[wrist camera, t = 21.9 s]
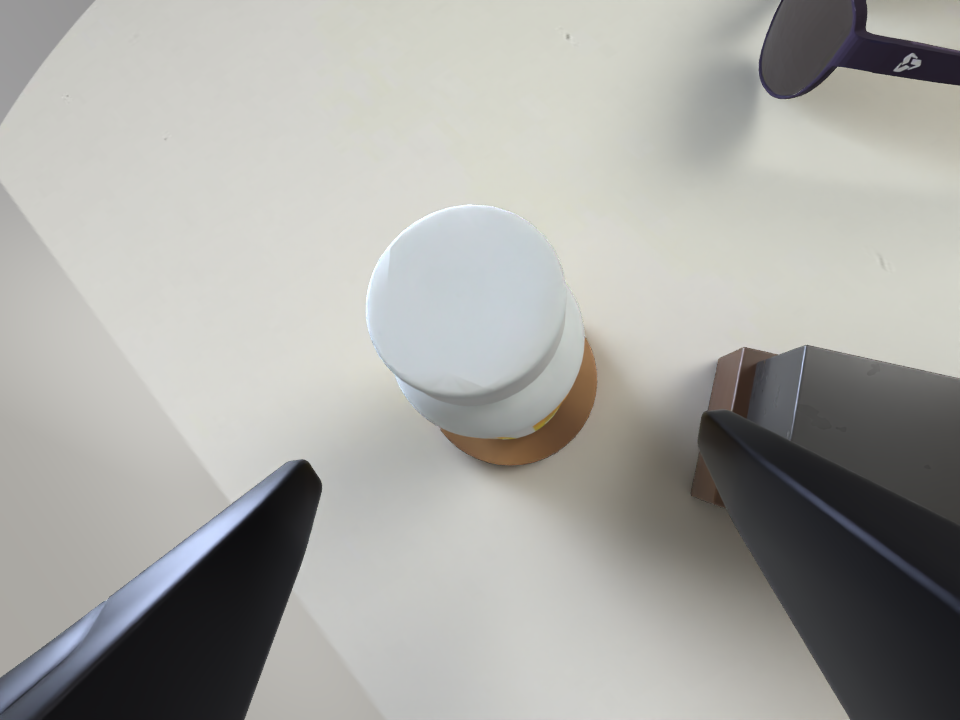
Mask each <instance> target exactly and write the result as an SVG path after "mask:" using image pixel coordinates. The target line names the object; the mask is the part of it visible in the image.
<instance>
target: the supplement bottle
mask: <svg viewBox="0 0 960 720" xmlns="http://www.w3.org/2000/svg"><path fill="white" fill-rule="evenodd" d="M366 319H367V326H368V330H369V334H370V337H371V340H372V343H373V345H374V347H375V349H376V351H377V353H378V355H379V357H380V358H381V359H382V361H383V362H384V363H385V365H386V366H387V367H388V368H389V369H390V370H391V371H392V372H393V373H394V374H395V377H396V380H397V382H398V384H399V386H400V388H401V390H402V392H403V393H404V395H405V396H406V398H407V399H408V401H409V402H410V403H411V405H412V406H413V407H414V408H415V409H416V410H417V411H418V412H419V413H420V414H421V415H422V416H423V417H425V418H426V419H427V420H429V421H430V422H432V423H433V424H435V425H437V426H438V427H440V428H442V429H445V430H447V431H449V432H452V433H455V434H458V435H462V436H467V437H472V438H483V439H517V438H520V437H523V436H527V435H529V434H532V433H534V432H535V431H537V430H539V429H540V428H541V427H543V426H544V425H545V424H546V423H548V422H549V420H550V419H551V418H552V417H553V416H554V415H555V413H556V412H557V410H558V409H559V407H560V405H561V404H562V402H563V401H564V400H565V399H566V397H567V395H568V393H569V392H570V390H571V388H572V386H573V384H574V382H575V380H576V377H577V375H578V373H579V370H580V366H581V363H582V359H583V353H584V342H585V334H584V324H583V319H582V314H581V311H580V308H579V305H578V303H577V301H576V298H575V296H574V294H573V293H572V291H571V289H570V288H569V286H568V285H567V283H566V282H565V278H564V272H563V269H562V266H561V263H560V260H559V258H558V256H557V253H556V252H555V250H554V248H553V247H552V245H551V244H550V243H549V241H548V240H547V238H546V237H545V236H544V235H543V234H542V233H541V232H540V231H539V230H538V229H537V228H536V227H535V226H533V225H532V224H531V223H530V222H528V221H527V220H525V219H524V218H522V217H521V216H519V215H517V214H515V213H513V212H510V211H507V210H504V209H501V208H497V207H492V206H484V205H463V206H455V207H450V208H446V209H443V210H440V211H437V212H434V213H432V214H430V215H427V216H425V217H424V218H422V219H420V220H418V221H417V222H415V223H414V224H412V225H411V226H409V227H408V228H406V229H405V230H404V231H403V232H402V233H401V234H400V235H399V236H398V237H397V238H396V239H395V240H394V241H393V242H392V243H391V244H390V246H389V247H388V248H387V250H386V251H385V252H384V254H383V255H382V256H381V258H380V259H379V261H378V263H377V265H376V267H375V269H374V271H373V274H372V277H371V280H370V283H369V287H368V292H367V300H366Z"/></svg>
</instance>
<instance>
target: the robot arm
mask: <svg viewBox="0 0 960 720" xmlns="http://www.w3.org/2000/svg"><path fill="white" fill-rule="evenodd" d="M698 447H699V450H700V453H701V455H702V457H703V459H704V462H705V464H706V466H707V468H708V470H709V472H710V475H711V477H712V479H713V481H714V483H715V485H716V488H717V490H718V492H719V494H720V496H721V498H722V500H723V503H724V505H725V507H726V509H727V511H728V513H729V515H730V517H731V519H732V521H733V523H734V525H735V527H736V529H737V530H738V532H739V534H740V536H741V537H742V539H743V541H744V542H745V544H746V546H747V547H748V549H749V551H750V552H751V554H752V556H753V557H754V559H755V561H756V562H757V564H758V566H759V567H760V569H761V571H762V572H763V574H764V576H765V577H766V579H767V581H768V582H769V584H770V586H771V587H772V589H773V591H774V593H775V594H776V596H777V598H778V599H779V601H780V603H781V604H782V606H783V608H784V609H785V611H786V613H787V614H788V616H789V618H790V619H791V621H792V623H793V624H794V626H795V628H796V629H797V631H798V633H799V634H800V636H801V638H802V639H803V641H804V643H805V644H806V646H807V648H808V649H809V651H810V653H811V654H812V656H813V658H814V660H815V661H816V663H817V665H818V666H819V668H820V670H821V671H822V673H823V675H824V676H825V678H826V680H827V681H828V683H829V685H830V686H831V688H832V690H833V691H834V693H835V695H836V696H837V698H838V700H839V701H840V703H841V705H842V706H843V708H844V710H845V711H846V713H847V715H848V716H849V718H850V720H960V525H959V524H957V523H955V522H953V521H951V520H949V519H947V518H945V517H943V516H941V515H939V514H937V513H935V512H933V511H931V510H929V509H927V508H925V507H923V506H921V505H919V504H917V503H915V502H913V501H911V500H909V499H907V498H905V497H903V496H901V495H899V494H897V493H895V492H893V491H891V490H889V489H887V488H885V487H883V486H881V485H879V484H877V483H875V482H873V481H871V480H869V479H867V478H865V477H863V476H861V475H859V474H857V473H855V472H853V471H851V470H849V469H847V468H845V467H843V466H841V465H839V464H837V463H835V462H832V461H830V460H828V459H826V458H824V457H822V456H820V455H818V454H816V453H814V452H812V451H810V450H808V449H806V448H804V447H802V446H800V445H798V444H796V443H794V442H792V441H790V440H788V439H786V438H784V437H782V436H780V435H778V434H776V433H774V432H772V431H770V430H768V429H766V428H764V427H762V426H760V425H758V424H756V423H754V422H752V421H750V420H748V419H746V418H744V417H742V416H740V415H738V414H736V413H734V412H732V411H729V410H726V409H720V410H712V411H706V412H704V413H703V414H702V417H701V423H700V429H699V435H698ZM321 492H322V483H321V480H320V478H319V477H318V475H317V474H316V472H315V471H314V469H313V468H312V466H311V465H310V463H309V462H308V461H306V460H303V459H302V460H293V461H289V462H287V463H285V464H284V465H282V466H281V467H280V468H278V469H277V470H276V471H274V472H273V473H272V474H271V475H269V476H268V477H267V478H265V479H264V480H263V481H261V482H260V483H259V484H257V485H256V486H255V487H253V488H252V489H251V490H249V491H248V492H247V493H246V494H244V495H243V496H242V497H240V498H239V499H238V500H236V501H235V502H234V503H232V504H231V505H230V506H228V507H227V508H226V509H225V510H223V511H222V512H221V513H219V514H218V515H217V516H216V517H214V518H213V519H211V520H210V521H209V522H208V523H206V524H205V525H203V526H202V527H201V528H199V529H198V530H197V531H196V532H194V533H193V534H192V535H190V536H189V537H188V538H187V539H185V540H184V541H182V542H181V543H180V544H178V545H177V546H176V547H174V548H173V549H172V550H171V551H169V552H168V553H167V554H165V555H164V556H163V557H161V558H160V559H159V560H157V561H156V562H155V563H153V564H152V565H151V566H149V567H148V568H147V569H146V570H144V571H143V572H142V573H140V574H139V575H138V576H136V577H135V578H134V579H133V580H131V581H130V582H128V583H127V584H126V585H125V586H123V587H122V588H121V589H119V590H118V591H117V592H115V593H114V594H113V595H111V596H110V597H109V598H108V600H107V601H104V602H102V603H101V604H99V605H98V606H97V607H95V608H94V609H93V610H91V611H90V612H89V613H88V614H86V615H85V616H84V617H82V618H81V619H80V620H78V621H77V622H76V623H74V624H73V625H72V626H70V627H69V628H68V629H66V630H65V631H64V632H62V633H61V634H60V635H58V636H57V637H56V638H54V639H53V640H52V641H50V642H49V643H47V644H46V645H45V646H43V647H42V648H41V649H39V650H38V651H37V652H35V653H34V654H33V655H31V656H30V657H28V658H27V659H26V660H24V661H23V662H22V663H20V664H19V665H17V666H16V667H15V668H13V669H12V670H10V671H9V672H8V673H6V674H5V675H3V676H2V677H1V678H0V720H244V719H245V716H246V713H247V711H248V708H249V705H250V703H251V700H252V697H253V694H254V692H255V689H256V686H257V683H258V681H259V678H260V675H261V673H262V670H263V667H264V664H265V661H266V659H267V656H268V654H269V651H270V648H271V645H272V643H273V640H274V637H275V634H276V632H277V629H278V626H279V624H280V621H281V618H282V615H283V613H284V610H285V607H286V604H287V602H288V598H289V596H290V593H291V591H292V588H293V585H294V583H295V580H296V577H297V574H298V572H299V569H300V566H301V563H302V560H303V558H304V555H305V551H306V548H307V544H308V541H309V537H310V533H311V530H312V526H313V522H314V518H315V515H316V511H317V507H318V503H319V500H320V496H321Z"/></svg>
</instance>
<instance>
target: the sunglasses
mask: <svg viewBox="0 0 960 720" xmlns="http://www.w3.org/2000/svg"><path fill="white" fill-rule="evenodd" d="M866 21H867V4H866V0H781V2H780V4H779V6H778V8H777V10H776V12H775V14H774V16H773V19H772V22H771V24H770V27H769V29H768V32H767V34H766V37H765V40H764V43H763V47H762V50H761V55H760V59H759V76H760V80H761V83H762V85H763V87H764V88H765V90H766V91H767V92H768V93H769V94H770V95H771V96H773V97H775V98H778V99H791V98H795V97H798V96H802V95H804V94H806V93H808V92H810V91H811V90H813V89H814V88H815V87H817V86H818V85H819V84H821V83H822V82H823V81H824V80H825V79H826V78H827V77H828V76H829V75H830V74H831V73H832V72H833V71H834V70H835V69H836V68H837V67H846V68H852V69H858V70H863V71H869V72H872V73H878V74H884V75H891V76H897V77H904V78H910V79H917V80H923V81H930V82H937V83H945V84H952V85H960V51H957V50H952V49H947V48H942V47H938V46H933V45H928V44H924V43H919V42H914V41H908V40H902V39H896V38H890V37H884V36H880V35H875V34H872V33H869V32H867V31H866ZM802 89H803V90H802ZM799 91H800V92H799ZM798 92H799V93H798ZM795 93H797V94H795ZM792 94H795V95H792Z"/></svg>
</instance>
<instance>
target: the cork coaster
mask: <svg viewBox="0 0 960 720" xmlns="http://www.w3.org/2000/svg"><path fill="white" fill-rule="evenodd" d="M596 389H597V369H596V364H595V359H594V356H593V353H592V349H591V347H590V345H589V343H588V341H587V339H586V337H585V342H584V353H583V359H582V363H581V366H580V370H579V373H578V375H577V377H576V380H575V382H574V384H573V386H572V388H571V390H570V392H569V393H568V395H567V397H566V399H565V400H564V401H563V402H562V404H561V405H560V407H559V409H558V410H557V412H556V413H555V415H554V416H553V417H552V418H551V419H550V420H549V422H548V423H546V424H545V425H544V426H543V427H541V428H540V429H539V430H537V431H535V432H534V433H532V434H529V435H527V436H523V437H520V438H517V439H483V438H472V437H467V436H462V435H458V434H455V433H452V432H449V431H447V430H445V429H442V428H440V427H439V428H440V429H441V431H442V432H443V433H444V435H445V436H446V437H447V438H448V439H449V440H450V441H451V442H452V443H453V444H454V445H455V446H456V447H458V448H459V449H460V450H462V451H463V452H465V453H466V454H468V455H470V456H472V457H474V458H476V459H479V460H482V461H485V462H487V463H492V464H497V465H510V466H512V465H524V464H528V463H533V462H536V461H539V460H542V459H544V458H547V457H549V456H551V455H552V454H554V453H556V452H558V451H559V450H560V449H562V448H563V447H565V446H566V445H567V444H568V443H569V442H570V441H571V440H572V439H573V438H574V437H575V436H576V435H577V434H578V432H579V431H580V430H581V429H582V427H583V426H584V424H585V422H586V421H587V419H588V417H589V415H590V412H591V410H592V407H593V404H594V400H595V396H596Z"/></svg>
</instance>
